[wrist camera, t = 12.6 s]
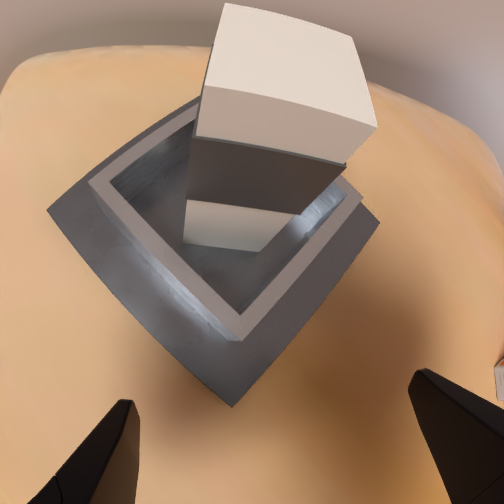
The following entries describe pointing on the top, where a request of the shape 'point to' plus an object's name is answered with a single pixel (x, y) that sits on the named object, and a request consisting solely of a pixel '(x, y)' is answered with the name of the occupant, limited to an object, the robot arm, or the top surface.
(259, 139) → the plug
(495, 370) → the skincare box
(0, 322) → the top surface
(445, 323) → the top surface
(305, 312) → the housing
